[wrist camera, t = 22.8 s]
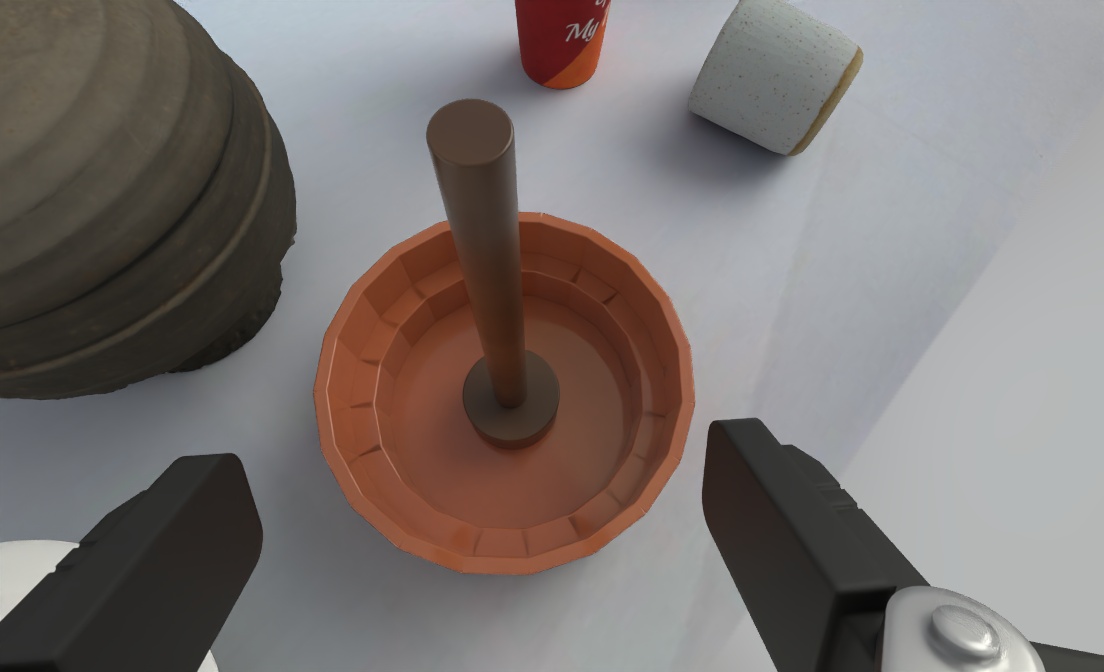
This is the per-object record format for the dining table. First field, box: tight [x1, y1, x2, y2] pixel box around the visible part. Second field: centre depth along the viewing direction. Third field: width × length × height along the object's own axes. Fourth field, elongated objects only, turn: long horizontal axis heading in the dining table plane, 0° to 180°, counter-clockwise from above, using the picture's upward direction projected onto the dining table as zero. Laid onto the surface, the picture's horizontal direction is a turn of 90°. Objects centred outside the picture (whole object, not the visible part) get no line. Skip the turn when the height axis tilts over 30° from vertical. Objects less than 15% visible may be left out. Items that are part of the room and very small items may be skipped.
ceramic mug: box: [688, 0, 863, 156], centre depth 34 cm, size 11×8×8 cm
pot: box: [0, 0, 297, 400], centre depth 22 cm, size 18×18×20 cm
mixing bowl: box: [313, 212, 695, 575], centre depth 26 cm, size 16×16×6 cm
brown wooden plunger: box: [426, 99, 560, 449], centre depth 19 cm, size 5×5×20 cm
